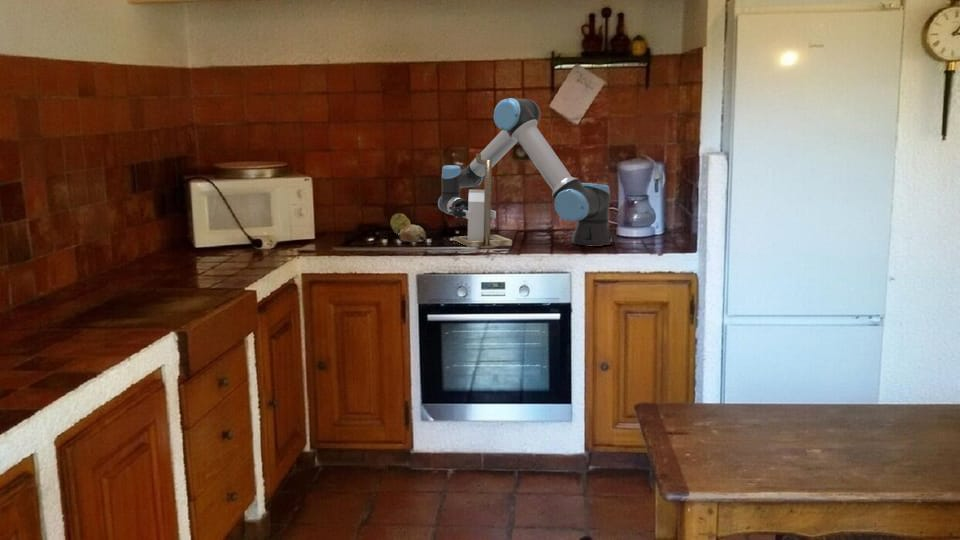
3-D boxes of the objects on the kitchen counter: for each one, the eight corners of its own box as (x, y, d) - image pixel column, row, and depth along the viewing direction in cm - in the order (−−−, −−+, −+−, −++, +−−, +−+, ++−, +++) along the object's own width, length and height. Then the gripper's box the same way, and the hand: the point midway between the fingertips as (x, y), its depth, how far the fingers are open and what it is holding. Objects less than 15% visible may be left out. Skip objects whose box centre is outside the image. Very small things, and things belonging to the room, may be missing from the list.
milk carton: (486, 241, 343) (487, 191, 340) (467, 241, 344) (468, 190, 340) (486, 238, 350) (488, 189, 347) (468, 238, 351) (469, 188, 347)
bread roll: (411, 252, 348) (418, 234, 345) (391, 238, 352) (398, 220, 349) (426, 248, 356) (433, 231, 353) (406, 235, 360) (413, 217, 357)
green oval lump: (391, 236, 360) (391, 216, 359) (389, 232, 373) (389, 212, 371) (412, 236, 361) (412, 216, 360) (410, 232, 374) (410, 212, 372)
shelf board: (496, 239, 358) (496, 234, 357) (511, 245, 345) (512, 240, 345) (453, 241, 351) (453, 236, 350) (467, 247, 338) (467, 242, 338)
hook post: (482, 243, 349) (484, 153, 343) (494, 247, 339) (496, 155, 333) (470, 243, 347) (471, 153, 341) (481, 248, 337) (483, 155, 331)
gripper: (485, 216, 366) (509, 224, 346) (433, 218, 358) (454, 226, 337) (485, 197, 365) (509, 204, 345) (433, 199, 356) (455, 206, 336)
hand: (482, 215), depth 341 cm, fingers closed on milk carton, 9 cm apart
